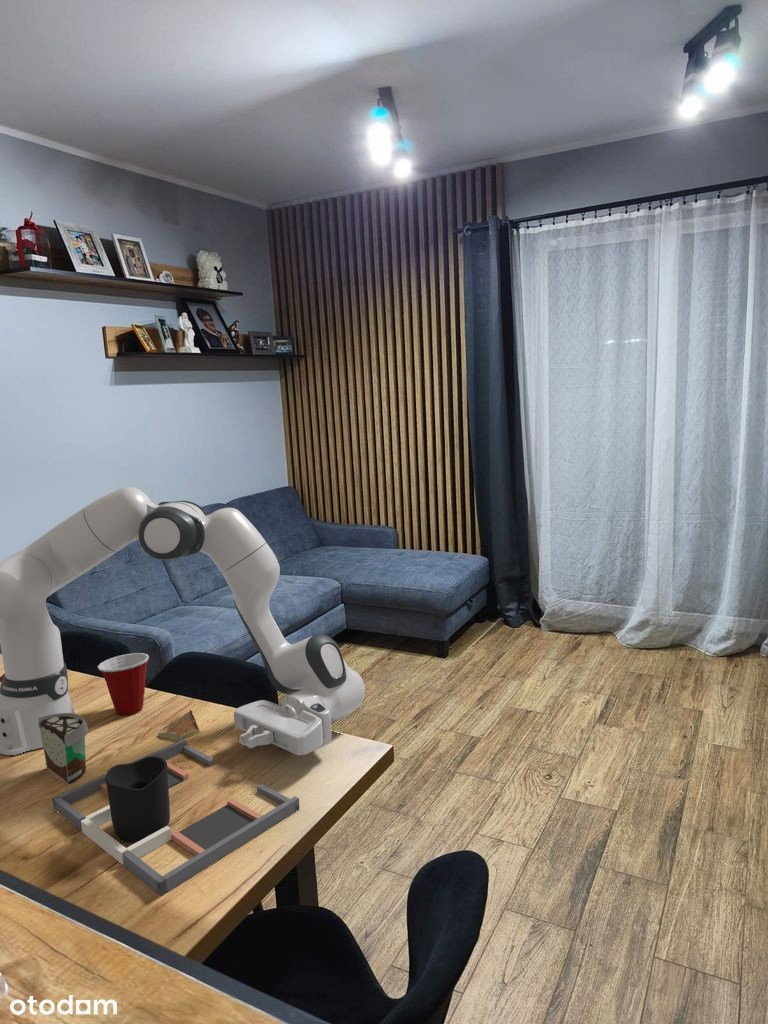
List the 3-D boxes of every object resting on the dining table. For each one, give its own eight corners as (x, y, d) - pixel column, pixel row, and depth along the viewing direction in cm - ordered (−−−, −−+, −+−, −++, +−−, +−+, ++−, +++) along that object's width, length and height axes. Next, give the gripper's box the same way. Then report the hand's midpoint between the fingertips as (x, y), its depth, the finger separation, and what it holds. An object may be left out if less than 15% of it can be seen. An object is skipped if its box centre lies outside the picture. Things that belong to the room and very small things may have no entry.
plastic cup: (130, 696, 164) (125, 648, 162) (164, 704, 159) (159, 654, 157) (92, 715, 155) (86, 664, 153) (126, 724, 150) (120, 672, 148)
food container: (104, 773, 130) (98, 723, 128) (72, 787, 126) (65, 736, 124) (75, 753, 138) (69, 705, 137) (43, 765, 134) (37, 717, 132)
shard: (191, 715, 154) (190, 708, 153) (219, 721, 151) (218, 713, 150) (156, 738, 144) (156, 730, 144) (186, 745, 141) (185, 736, 141)
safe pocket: (126, 807, 119) (125, 797, 118) (171, 839, 110) (170, 828, 109) (80, 830, 113) (79, 819, 112) (124, 866, 104) (123, 854, 103)
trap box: (184, 748, 139) (183, 738, 138) (299, 809, 116) (298, 798, 116) (53, 808, 119) (52, 798, 119) (161, 895, 97) (159, 883, 97)
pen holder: (133, 807, 119) (127, 753, 117) (183, 813, 117) (177, 757, 115) (99, 842, 110) (92, 784, 108) (153, 848, 108) (147, 789, 106)
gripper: (265, 687, 144) (209, 711, 134) (335, 713, 131) (278, 742, 121) (268, 715, 145) (212, 742, 135) (337, 744, 132) (281, 776, 122)
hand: (244, 742), depth 128 cm, fingers closed
